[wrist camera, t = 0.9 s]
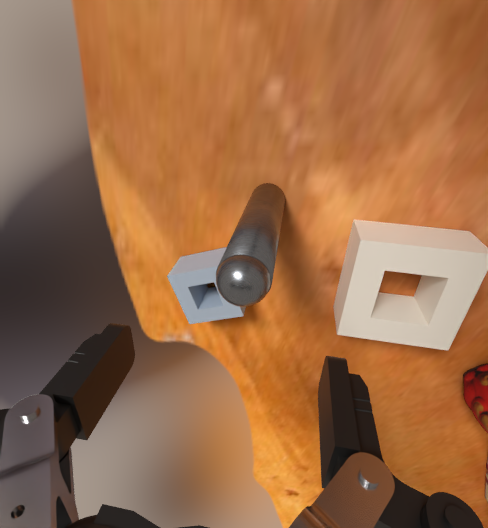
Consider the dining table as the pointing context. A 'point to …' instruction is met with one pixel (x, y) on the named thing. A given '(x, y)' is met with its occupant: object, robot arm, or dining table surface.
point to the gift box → (487, 489)
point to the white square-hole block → (428, 291)
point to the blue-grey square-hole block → (201, 288)
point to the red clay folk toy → (477, 393)
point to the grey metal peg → (252, 249)
